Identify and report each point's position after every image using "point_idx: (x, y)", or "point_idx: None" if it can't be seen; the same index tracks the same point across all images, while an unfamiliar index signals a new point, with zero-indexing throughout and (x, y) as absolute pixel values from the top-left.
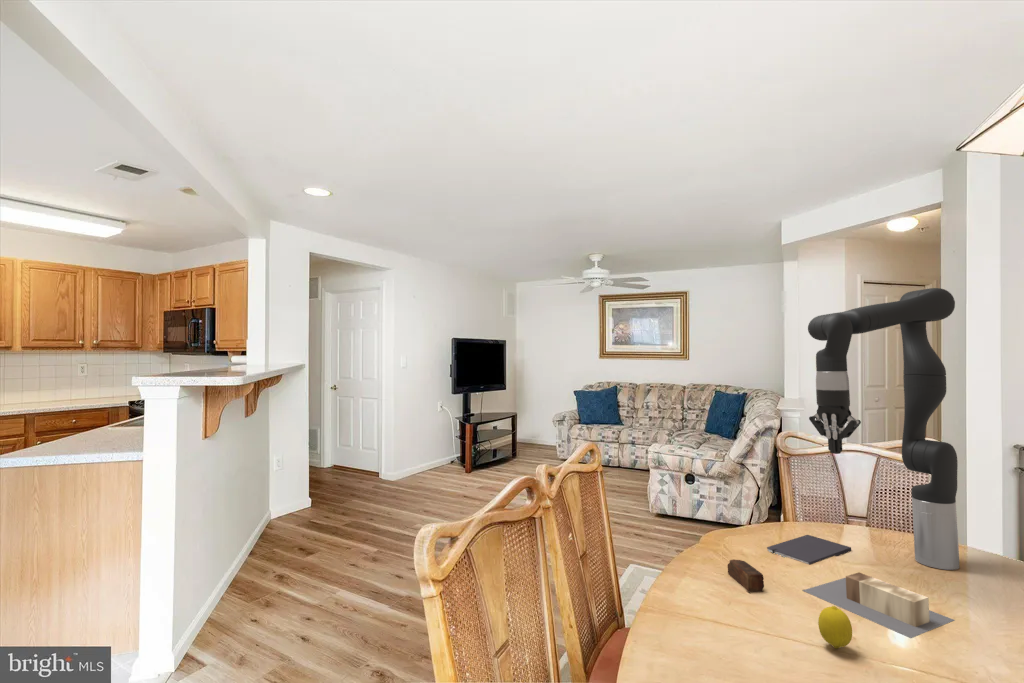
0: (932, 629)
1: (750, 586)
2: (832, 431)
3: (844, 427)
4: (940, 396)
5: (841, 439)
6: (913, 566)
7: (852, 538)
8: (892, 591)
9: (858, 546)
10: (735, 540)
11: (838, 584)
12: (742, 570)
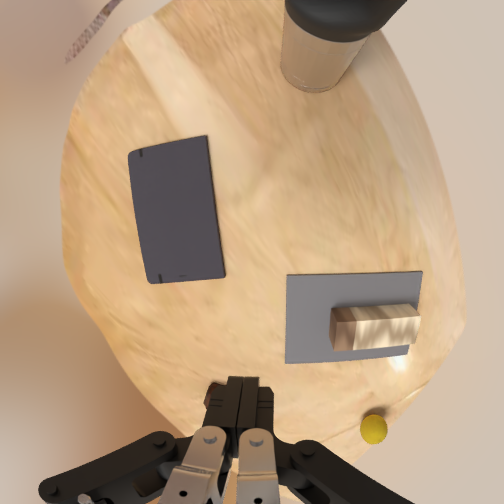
0: None
1: None
2: (199, 466)
3: (278, 488)
4: None
5: (275, 441)
6: (303, 111)
7: (168, 78)
8: (390, 339)
9: (198, 104)
10: (101, 284)
11: (297, 306)
12: None
